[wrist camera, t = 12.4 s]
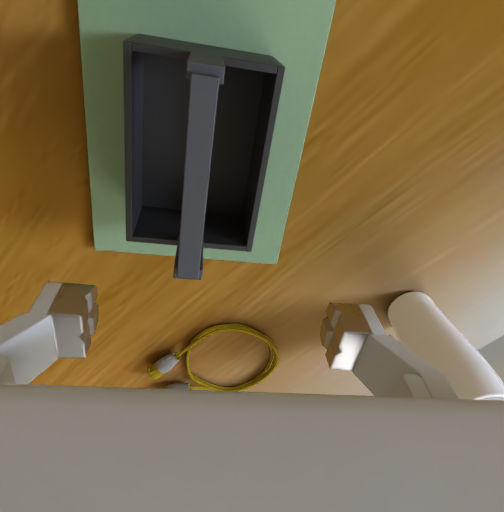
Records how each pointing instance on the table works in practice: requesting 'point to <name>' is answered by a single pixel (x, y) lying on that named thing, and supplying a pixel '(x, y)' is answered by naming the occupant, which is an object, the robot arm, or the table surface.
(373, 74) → the table surface
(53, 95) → the table surface
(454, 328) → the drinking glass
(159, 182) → the caddy bin
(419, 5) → the table surface
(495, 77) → the table surface
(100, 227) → the desk mat
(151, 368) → the extension cord
